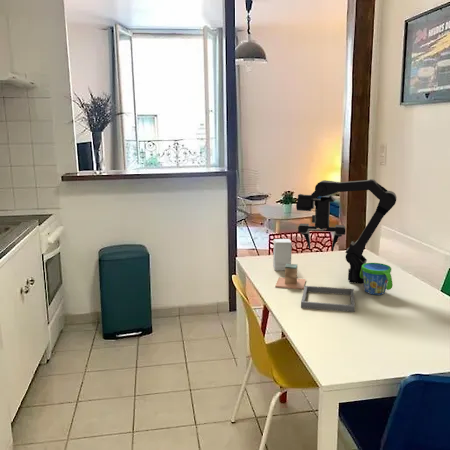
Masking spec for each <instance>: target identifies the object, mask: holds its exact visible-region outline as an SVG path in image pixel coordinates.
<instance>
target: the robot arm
mask: <svg viewBox="0 0 450 450" xmlns="http://www.w3.org/2000/svg"><path fill="white" fill-rule="evenodd" d="M359 191H360V192H361V191H369V192H370V193H372V194H373V195H374V196H375V198H376V199H378V200H379V202H378V203H377V207H376V209H375V211H374V213H373V214H372V216H371V218H370V219H369V221H368V223H367V225H366V226H365V228H364V229H363V231H362V232H361V234H360V235H359V237H358V239H357V240H356V241H355V242H354V241H352V240H351V242H350V244H349V247H347V248H346V250H345V258H344V259H345V261H346V262H347V263H348V264H349V268H348V273H347V275H348V276H347V280H348V283H350V284H351V283H352V284H363V285H364V279H363V278H360V271H361V267H362V265H363V264H365V263H367V261H368V259H367V258H366V257H365V256H364V255H363V253H364V251H365V248H366V246H367V244H368V242H369V241H370V240H371V238H372V235H373V234H374V232H375V231H376V229H377V228H378V226H379V224H380V223H381V221H382V220H383V218H384V217H385V216H386V214H388V213H389V211H390V210H391V209H392V208H393V207H394V206H395V205H396V202H397V200H398V199H397V195H396V193H395V192H394V191H392V190H388V189H387V188H385V187H384V186H382V185H381V183H380V184H379V183H378V182H377V180H375V179H373V178H370V179H366V180H365V179H364V180H363V179H362V180H351V181H350V180H349V181H333V180H321V181H319V182H317V184H316V185H315V186H314V191H313V192H312V193H311V194H303V193H302V194H301V193H299V194H298V195H297V199H296V203H295V207H296V211H297V212H298V211H299V212H311V211H312V210H315V212H314V214H312V216H311V223H312V224H314V225H309V223H300V224H298V227H297V233H300V234H301V235H303V237H304V238H305V242H306V245H307V247H308V250H310V249H311V237H310V231H312V232H334V234H333V240H332V245H331V251H333V250H334V248H335V246H336V243H337V241H338V239H339V237H342V235H343V236H344V235H346V226H345V225H344V224H335V226H330V211H331V208H330V205H331V203H334V202H335V201H336V199H335V198H334V197H333V194H338V193H344V192H345V193H346V192H359ZM319 197H320V198H319Z"/></svg>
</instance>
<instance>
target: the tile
mask: <svg viewBox="0 0 450 450" xmlns="http://www.w3.org/2000/svg"><path fill="white" fill-rule="evenodd" d="M306 282H307V279H306V278H297V283H296V285H294V284H285V277H281V276H280V277H278V279H277V281H276V283H275V288H281V289H295V290H304V287H305V286H306V285H305V284H306Z"/></svg>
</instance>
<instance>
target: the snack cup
mask: <svg viewBox="0 0 450 450" xmlns="http://www.w3.org/2000/svg"><path fill="white" fill-rule="evenodd" d="M391 273H392V267H391V266H390V265H387V264H386V263H385V264H384V263H379V262H366V263H365V264H363V265H362V267H361V271H360V278H363V279H364V284H363V288H364V291H365V292H366V293H367V294H370V295H372V296H373V295H375V296H379V295H380V296H381V295H383V294H385V293H386V291H389V290H391V289H393V278H392V274H391Z"/></svg>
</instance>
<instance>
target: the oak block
mask: <svg viewBox="0 0 450 450" xmlns="http://www.w3.org/2000/svg"><path fill="white" fill-rule="evenodd" d="M284 278H285V284H294V285H296V283H297V279H298V263H291V264H286V266H285V270H284Z"/></svg>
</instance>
